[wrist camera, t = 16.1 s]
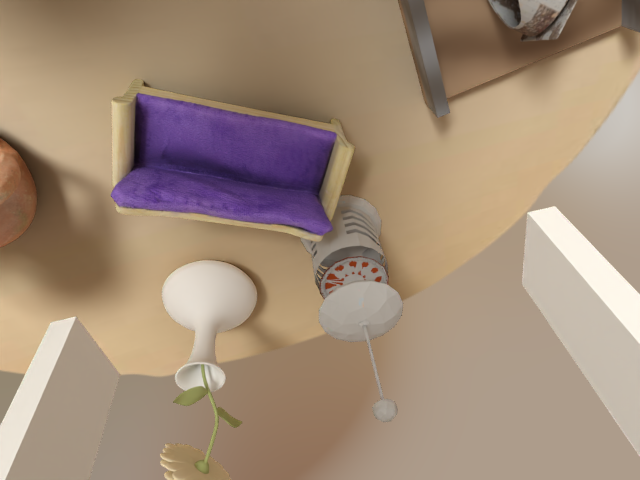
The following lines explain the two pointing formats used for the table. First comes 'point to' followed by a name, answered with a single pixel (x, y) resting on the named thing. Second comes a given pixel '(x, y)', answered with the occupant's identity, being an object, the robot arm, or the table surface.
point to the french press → (356, 282)
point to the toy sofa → (225, 163)
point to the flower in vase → (204, 349)
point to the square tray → (491, 41)
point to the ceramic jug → (15, 195)
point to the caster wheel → (534, 17)
